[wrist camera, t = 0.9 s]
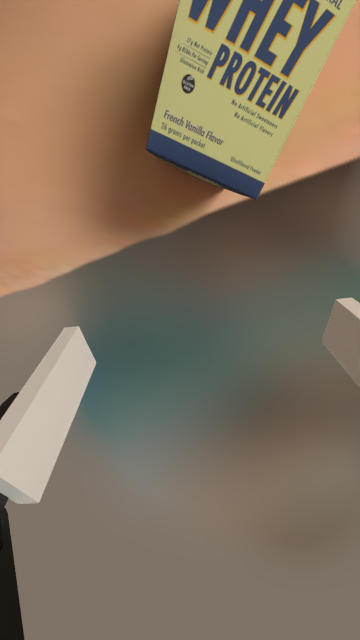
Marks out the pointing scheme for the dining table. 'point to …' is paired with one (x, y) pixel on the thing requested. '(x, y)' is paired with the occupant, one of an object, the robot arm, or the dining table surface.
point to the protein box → (239, 84)
